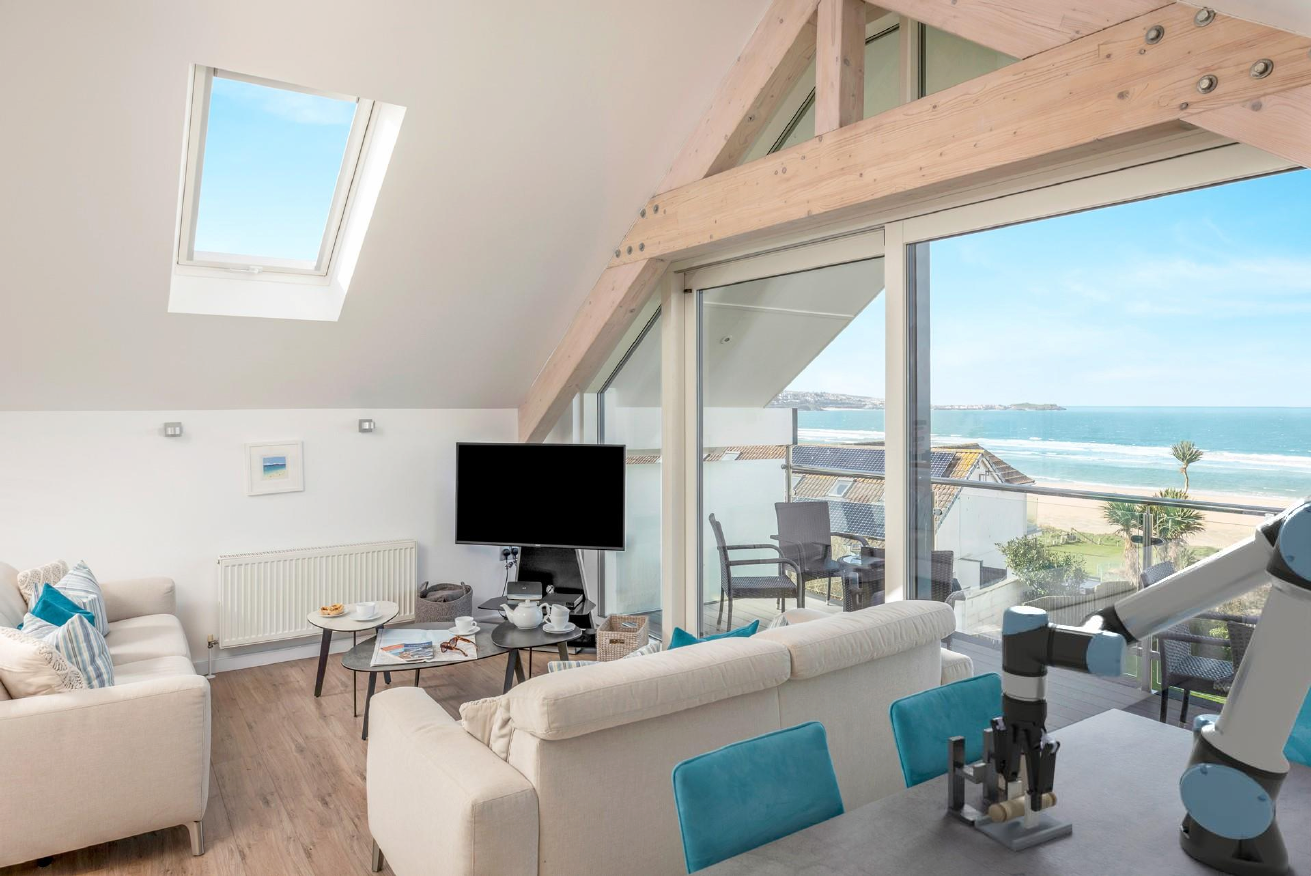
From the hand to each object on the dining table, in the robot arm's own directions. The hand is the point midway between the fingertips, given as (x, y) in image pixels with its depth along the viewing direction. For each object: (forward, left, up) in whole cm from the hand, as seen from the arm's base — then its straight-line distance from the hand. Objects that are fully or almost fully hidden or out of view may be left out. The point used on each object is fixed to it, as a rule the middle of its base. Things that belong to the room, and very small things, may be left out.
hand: (1022, 821), depth 147 cm
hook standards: (+7, +1, -1) cm, 8 cm away
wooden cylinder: (0, 0, +1) cm, 2 cm away
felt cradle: (0, 0, -2) cm, 2 cm away
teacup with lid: (+13, -12, -2) cm, 17 cm away
